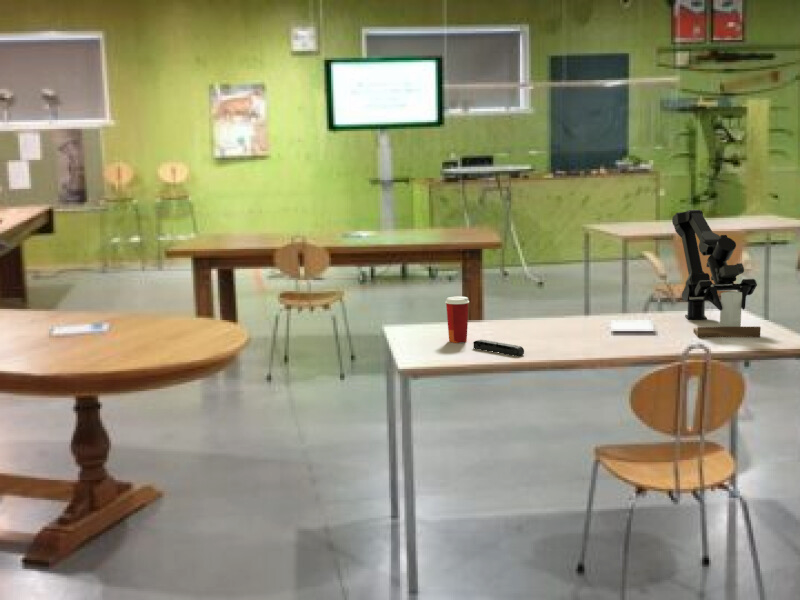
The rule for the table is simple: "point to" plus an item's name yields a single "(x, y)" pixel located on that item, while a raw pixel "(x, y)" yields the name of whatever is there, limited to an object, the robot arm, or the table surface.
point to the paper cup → (457, 318)
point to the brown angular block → (727, 331)
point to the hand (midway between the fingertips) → (732, 309)
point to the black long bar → (499, 347)
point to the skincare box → (731, 309)
